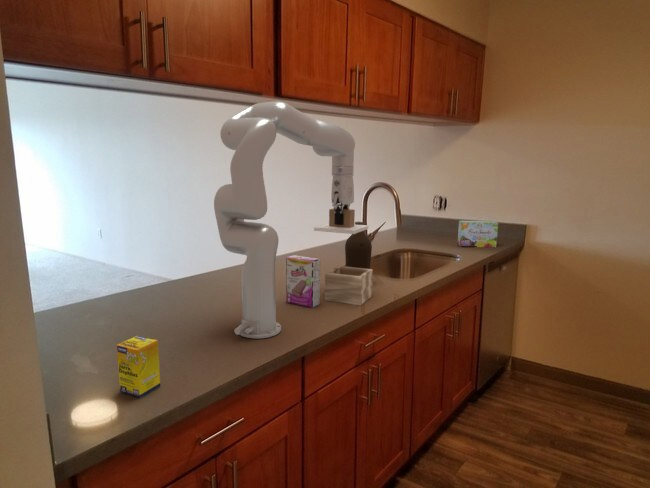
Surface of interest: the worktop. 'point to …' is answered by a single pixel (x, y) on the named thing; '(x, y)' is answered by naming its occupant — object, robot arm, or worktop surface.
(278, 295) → the worktop surface
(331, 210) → the lid
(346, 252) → the olive oil
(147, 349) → the supplement box
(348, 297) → the box
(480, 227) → the snack box
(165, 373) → the worktop surface
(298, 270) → the candy bar box
